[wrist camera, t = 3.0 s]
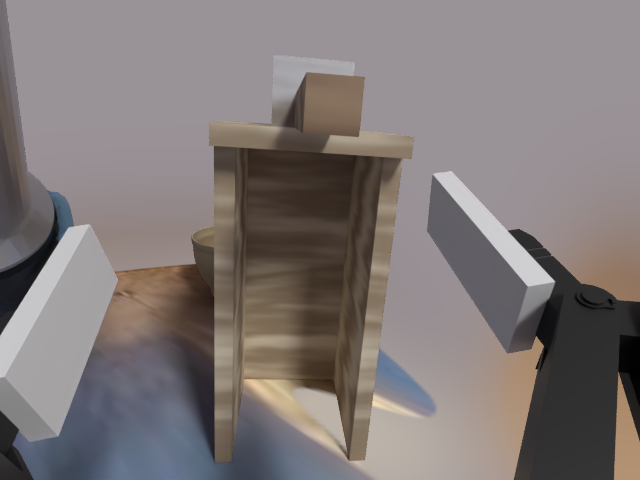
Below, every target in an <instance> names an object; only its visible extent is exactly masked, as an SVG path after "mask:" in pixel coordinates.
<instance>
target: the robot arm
mask: <svg viewBox="0 0 640 480" xmlns="http://www.w3.org/2000/svg"><path fill="white" fill-rule="evenodd" d="M427 231H428V233H429V234H430V236H431V238H432V239H433V241H434V242H435V244H436V245H437V247H438V248H439V250H440V251H441V253H442V254H443V256H444V257H445V259H446V260H447V262H448V264H449V265H450V266H451V268H452V270H453V271H454V273H455V274H456V276H457V277H458V279H459V280H460V282H461V283H462V285H463V286H464V288H465V290H466V291H467V293H468V294H469V296H470V297H471V299H472V300H473V301H474V303H475V305H476V306H477V308H478V309H479V311H480V312H481V314H482V316H483V317H484V318H485V320H486V322H487V323H488V325H489V326H490V328H491V329H492V330H493V332H494V334H495V335H496V337H497V338H498V340H499V342H500V343H501V345H502V346H503V348H504V349H505V350H506V352H507V353H513V352H518V351H524V350H529V349H532V346H533V343H534V340H535V337H536V336H537V337H538V339H539V340H540V341H541V343H542V344H543V345H544V348H543V350H542V353H541V355H540V358H539V361H538V363H537V366H536V369H537V370H538V371H537V376H536V380H535V385H534V390H533V394H532V399H531V403H530V408H529V413H528V418H527V422H526V426H525V431H524V436H523V440H522V446H521V449H520V454H519V459H518V464H517V468H516V473H515V477H514V480H614V461H615V436H616V413H617V412H616V411H617V389H618V388H617V387H618V372H619V374H620V378H621V381H622V384H623V388H624V391H625V394H626V397H627V401H628V404H629V407H630V411H631V414H632V417H633V420H634V424H635V427H636V430H637V433H638V437H639V440H640V302H633V301H620V300H617V299H616V298H615V297H614V296H613V295H612V294H610V293H608V292H607V291H605V290H604V289H601V288H599V287H596V286H592V285H586V284H581V283H580V282H579V281H578V280H577V279H576V278H575V277H574V276H573V275H572V274H571V273H570V272H569V271H568V270H567V269H566V268H565V267H563V265H561V264H560V262H558V261H557V260H556V259H555V258H554V257H553V256H551V254H550V253H549V252H548V251H547V250H546V249H545V248H543V246H542V245H541V244H540V243H539V242H538V241H537V240H536V239H535V238H534V237H533V236H531V235H529V234H527V233H526V232H524V231H522V230H520V229H516V230H510V231H507V230H506V229H505V228H504V227H503V226H502V225H501V224H500V222H499V221H498V220H497V219H496V218H495V217H494V216H493V215H492V214H491V213H490V212H489V211H488V210H487V209H486V208H485V207H484V205H483V204H482V203H481V202H480V201H479V200H478V199H477V198H476V197H475V196H474V195H473V194H472V193H471V192H470V191H469V190H468V189H467V188H466V186H465V185H464V184H463V183H462V182H461V181H460V180H459V179H458V178H457V177H456V176H455V175H454V174H453V172H451V171H449V172H442V173H435V174H433V175H432V185H431V195H430V207H429V217H428V227H427ZM117 282H118V279H117V277H116V275H115V273H114V271H113V269H112V267H111V265H110V263H109V261H108V259H107V257H106V255H105V253H104V251H103V249H102V247H101V245H100V243H99V241H98V239H97V237H96V235H95V233H94V231H93V229H92V227H91V225H90V224H89V225H82V226H75V227H74V225H73V219H72V214H71V210H70V206H69V204H68V201H67V200H66V198H65V197H64V196H62V195H61V194H59V193H57V192H50V191H48V190H46V188H45V187H44V185H43V184H42V183H41V182H40V181H39V180H38V179H37V178H36V177H35V176H33V175H32V174H31V173H29V172H28V171H27V163H26V155H25V148H24V141H23V133H22V125H21V117H20V109H19V102H18V94H17V86H16V78H15V72H14V63H13V56H12V48H11V40H10V32H9V24H8V16H7V9H6V1H5V0H0V480H33V478H32V476H31V474H30V472H29V470H28V468H27V466H26V464H25V462H24V460H23V458H22V457H21V455H20V453H19V451H18V450H17V449H16V448H15V447H14V446H13V445H12V444H13V442H14V439H15V437H16V435H17V433H18V431H19V432H20V433H21V434H22V435H23V436H24V437H25V438H26V439H27V440H28V441H29V442H32V441H37V440H42V439H48V438H53V437H58V436H59V434H60V431H61V428H62V426H63V423H64V420H65V418H66V415H67V413H68V410H69V407H70V405H71V402H72V399H73V397H74V394H75V392H76V389H77V386H78V384H79V381H80V379H81V376H82V373H83V371H84V368H85V365H86V363H87V360H88V358H89V355H90V352H91V350H92V347H93V344H94V342H95V339H96V337H97V334H98V331H99V329H100V326H101V323H102V321H103V318H104V316H105V313H106V310H107V308H108V305H109V302H110V300H111V297H112V295H113V292H114V289H115V287H116V284H117Z"/></svg>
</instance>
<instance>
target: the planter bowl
mask: <svg viewBox="0 0 640 480" xmlns="http://www.w3.org/2000/svg"><path fill="white" fill-rule="evenodd" d="M191 237H192V238H191V239H192V244H193V251H194V257H195V262H196V265H197V268H198V270H199V272H200V274H201V276H202V278H203V279H204V281H205V282H206V283H207V285H208V286H209V287H210V288H211V293H212V295H213V296H214V226H211V227H206V228H202V229H199V230H197V231H196V232H194V233H193V234H192V236H191Z"/></svg>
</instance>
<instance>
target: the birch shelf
mask: <svg viewBox="0 0 640 480" xmlns="http://www.w3.org/2000/svg"><path fill="white" fill-rule="evenodd" d="M271 125H272V124H265V123H251V122H238V121H237V122H236V121H233V122H209V145H210V146H214V345H215V462H232V455H233V448H234V442H235V435H236V428H237V422H238V415H239V408H240V402H241V395H242V388H243V382H244V379H333V380H334V385H335V390H336V395H337V400H338V405H339V410H340V415H341V420H342V425H343V431H344V436H345V441H346V446H347V451H348V456H349V460H365V455H366V447H367V439H368V431H369V423H370V416H371V408H372V400H373V392H374V384H375V376H376V368H377V360H378V352H379V344H380V336H381V329H382V321H383V312H384V304H385V297H386V288H387V281H388V273H389V265H390V257H391V249H392V241H393V234H394V226H395V218H396V210H397V201H398V194H399V186H400V178H401V170H402V162H403V158H408V159H411V157H412V150H413V142H414V137H410V136H402V135H395V134H387V133H380V132H372V131H362V130H360V132H359V137H350V136H336V135H322V134H308V133H302V132H300V131H299V130H297V129H296V128H294V127H281V126H271Z"/></svg>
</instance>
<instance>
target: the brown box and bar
mask: <svg viewBox="0 0 640 480" xmlns="http://www.w3.org/2000/svg"><path fill="white" fill-rule="evenodd" d="M354 65H355V63H354V62H346V61H335V60H324V59H312V58H302V57H290V56H280V55H274V70H273V97H272V125H271V126H281V127H294V128H296V129H297V130H299V131H300V132H302V133H308V134H322V135H336V136H350V137H359V132H360V122H361V111H362V100H363V90H364V80H365V77H357V76H354Z"/></svg>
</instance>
